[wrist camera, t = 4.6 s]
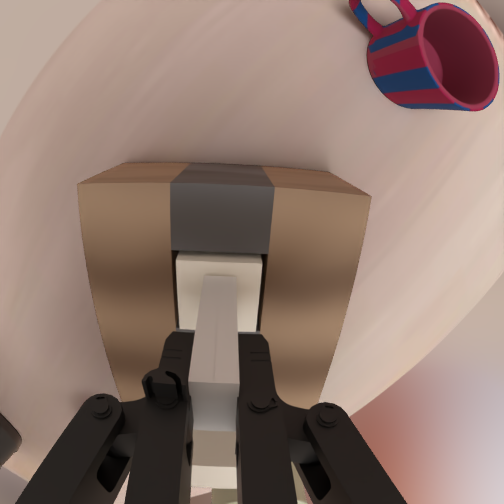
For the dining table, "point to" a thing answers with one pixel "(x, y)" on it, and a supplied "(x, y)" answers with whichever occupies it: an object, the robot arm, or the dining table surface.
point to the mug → (431, 58)
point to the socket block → (222, 240)
